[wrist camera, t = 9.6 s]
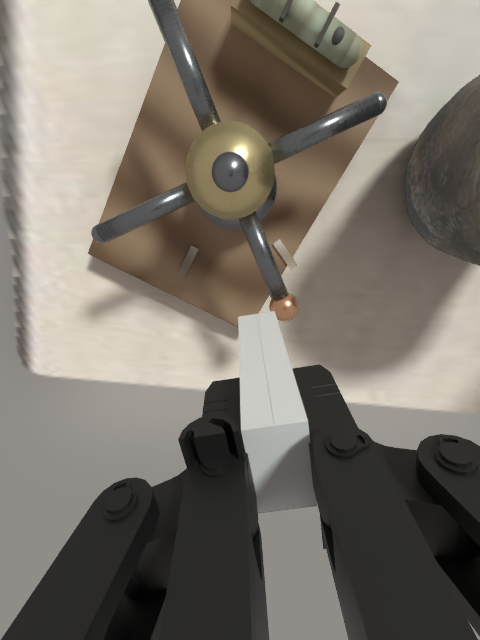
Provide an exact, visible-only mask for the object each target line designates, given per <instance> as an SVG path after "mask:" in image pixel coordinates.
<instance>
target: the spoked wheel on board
mask: <svg viewBox="0 0 480 640" xmlns="http://www.w3.org/2000/svg"><path fill="white" fill-rule="evenodd" d="M339 6H340V4H339V3H337V2H336V3H335V5H334V6H333V8H332V10H331V12H330V13H329V12H328V11H326V10H325V9H324V8H322V7H321V6H320V5H318V4H317V3H316V2H314V1H313V0H181V2H180V4H179V7H178V13H179V15H180V18H181V21H182V23H183V26H184V28H185V31H186V33H187V36H188V39H189V41H190V44H191V46H192V49H193V51H194V54H195V56H196V59H197V62H198V64H199V67H200V69H201V72H202V74H203V77H204V80H205V82H206V85H207V87H208V90H209V92H210V95H211V97H212V100H213V103H214V105H215V108H216V110H217V113H218V115H219V118H220V121H221V122H222V121H236V122H241V123H244V124H246V125H248V126H250V127H252V128H253V129H255V130H256V131H257V132H258V133H259V134H260V135H261V136H262V137H263V138H264V139H265V141H266V142H267V143H269V142H271V141H273V140H275V139H277V138H279V137H282V136H284V135H286V134H288V133H290V132H292V131H294V130H296V129H298V128H300V127H302V126H305V125H307V124H309V123H311V122H313V121H315V120H317V119H319V118H321V117H323V116H325V115H328V114H330V113H332V112H334V111H336V110H338V109H340V108H342V107H344V106H346V105H348V104H351V103H353V102H355V101H357V100H359V99H361V98H363V97H365V96H367V95H369V94H371V93H374V92H382V93H383V94H385V96H386V98H387V100H388V99H389V97H390V95H391V94H392V92H393V91H394V89H395V87H396V86H397V84H398V81H397V80H396V79H394V78H393V77H392V76H390V75H389V74H388V73H387V72H385V71H384V70H383V69H381V68H380V67H379V66H377V65H376V64H375V63H373V62H372V61H371V60H369V59H368V58H367V57H365V56H366V54H367V52H368V50H369V49H370V47H371V45H370V44H369V43H367V42H366V41H365V40H363V39H362V38H361V37H359V36H358V35H357V34H356V33H355V32H354V31H352V30H351V29H350V28H348V27H347V26H346V25H345V24H343V23H342V22H341V21H339V20H338V19H337V18H335V17H334V16H335V14H336V12H337V10H338V8H339ZM377 117H378V116H377ZM377 117H374V118H372V119H370V120H368V121H366V122H364V123H362V124H359V125H357V126H355V127H353V128H351V129H349V130H347V131H344V132H342V133H340V134H338V135H336V136H334V137H332V138H329V139H327V140H325V141H323V142H321V143H319V144H317V145H314V146H312V147H310V148H308V149H306V150H304V151H302V152H299V153H297V154H295V155H293V156H291V157H289V158H287V159H284V160H282V161H280V162H278V163H276V164H274V165H275V176H276V182H277V190H276V197H275V201H274V204H273V206H272V208H271V210H270V211H269V213H268V214H267V215H266V217H265V218H264V219H263V220H262V221H261V222H260V223H261V226H262V228H263V231H264V233H265V236H266V238H267V241H268V243H269V246H270V249H271V251H272V254H273V256H274V259H275V261H276V264H277V267H278V269H279V272H280V274H281V275H282V273H283V272H284V270H285V268H286V267H287V265H288V266H289V268H290V269H292V268H294V267H295V266H297V264H296V262H295V261H294V259H293V258H292V257H293V255H294V254H295V252H296V250H297V249H298V247H299V245H300V244H301V242H302V240H303V239H304V237H305V235H306V234H307V232H308V231H309V229H310V227H311V226H312V224H313V222H314V221H315V219H316V217H317V216H318V214H319V212H320V211H321V209H322V207H323V206H324V204H325V203H326V201H327V199H328V198H329V196H330V194H331V193H332V191H333V189H334V188H335V186H336V184H337V183H338V181H339V179H340V178H341V176H342V175H343V173H344V171H345V170H346V168H347V166H348V165H349V163H350V161H351V160H352V158H353V156H354V155H355V153H356V151H357V150H358V148H359V147H360V145H361V143H362V142H363V140H364V138H365V137H366V135H367V133H368V132H369V130H370V128H371V127H372V125H373V123H374V122H375V120H376V119H377ZM201 132H202V130H201V128H200V125H199V123H198V120H197V118H196V115H195V113H194V111H193V108H192V106H191V103H190V101H189V99H188V96H187V94H186V91H185V89H184V87H183V84H182V82H181V79H180V77H179V74H178V72H177V70H176V67H175V65H174V62H173V60H172V58H171V55H170V53H169V50H168V48H167V46H166V43H165V45H164V48H163V51H162V53H161V56H160V59H159V61H158V64H157V67H156V70H155V72H154V75H153V78H152V80H151V83H150V86H149V89H148V91H147V94H146V97H145V100H144V102H143V105H142V108H141V110H140V113H139V116H138V119H137V121H136V124H135V127H134V129H133V132H132V135H131V138H130V140H129V143H128V146H127V148H126V151H125V154H124V157H123V159H122V162H121V165H120V168H119V170H118V173H117V176H116V178H115V181H114V184H113V187H112V189H111V192H110V195H109V197H108V200H107V203H106V206H105V208H104V211H103V214H102V216H101V219H100V222H99V223H102V222H104V221H106V220H108V219H110V218H112V217H114V216H116V215H118V214H120V213H123V212H125V211H127V210H129V209H131V208H133V207H135V206H137V205H139V204H141V203H143V202H146V201H148V200H150V199H152V198H154V197H156V196H158V195H160V194H162V193H164V192H166V191H169V190H171V189H173V188H175V187H177V186H179V185H181V184H183V183H185V182H187V181H186V175H185V165H186V158H187V154H188V151H189V149H190V146H191V145H192V143H193V141H194V140H195V138H196V137H197V136H198V135H199V134H200V133H201ZM88 254H90V255H92V256H94V257H96V258H98V259H100V260H102V261H104V262H106V263H108V264H110V265H112V266H114V267H116V268H118V269H120V270H123V271H125V272H127V273H129V274H131V275H133V276H135V277H137V278H139V279H141V280H143V281H145V282H147V283H149V284H151V285H153V286H155V287H157V288H159V289H162V290H164V291H166V292H168V293H170V294H172V295H174V296H176V297H178V298H180V299H182V300H184V301H186V302H188V303H190V304H192V305H194V306H196V307H199V308H201V309H203V310H205V311H207V312H209V313H211V314H213V315H215V316H217V317H219V318H221V319H223V320H225V321H227V322H229V323H231V324H233V325H236V326H238V317H240V316H246V315H253V314H258V313H259V311H260V310H261V308H262V306H263V305H264V303H265V301H266V300H267V298H268V296H269V295H270V294H269V292H268V289H267V287H266V284H265V282H264V279H263V277H262V275H261V272H260V270H259V267H258V265H257V263H256V260H255V258H254V255H253V253H252V251H251V248H250V246H249V243H248V241H247V238H246V236H245V234H244V231H243V230H229V229H225V228H222V227H220V226H218V225H216V224H214V223H213V222H212V221H211V220H209V219H208V218H207V217H206V215H205V214H204V213H203V211H202V210H201V208H200V206H199V204H198V203H197V202H196V201H195V202H192V203H190V204H188V205H186V206H184V207H182V208H180V209H177V210H175V211H173V212H171V213H169V214H167V215H165V216H163V217H160V218H158V219H156V220H154V221H152V222H150V223H148V224H145V225H143V226H141V227H139V228H137V229H135V230H133V231H130V232H128V233H126V234H124V235H122V236H120V237H118V238H115V239H113V240H111V241H109V242H107V243H98V242H96V241H95V240H94V239H93V241H92V244H91V246H90V249H89V252H88Z"/></svg>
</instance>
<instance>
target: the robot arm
mask: <svg viewBox="0 0 480 640" xmlns="http://www.w3.org/2000/svg"><path fill="white" fill-rule="evenodd" d="M238 330H239V372H240V378H234V379H227V380H221V381H214V382H212V384H211V385H210V386H209V388H208V389H207V391H206V392H205V399H204V406H203V415H202V417H201V418H199V419H197V420H195V421H193V422H192V423H190V424H189V425H188V426H187V427H186V428H185V429H184V430H183V431H182V433H181V435H180V437H179V444H180V446H181V450H182V453H183V456H184V459H185V463H186V466H187V469H186V470H184V471H183V472H182V473H181V474H179V475H178V476H176V477H174V478H172V479H170V480H168V481H165V482H163V483H161V484H158V485H156V486H154V487H151V486H150V485H149V484H148V483H147V481H145V480H143V479H140V478H127V479H124V480H121V481H119V482H116V483H114V484H112V485H111V486H110V487H108V488H107V489H106V490H104V491H103V492H102V493H101V494H100V495H99V496H98V498H97V499H96V500H95V501H94V502H93V504H92V505H91V507H90V508H89V510H88V511H87V513H86V514H85V516H84V517H83V519H82V520H81V522H80V523H79V525H78V526H77V528H76V529H75V531H74V532H73V534H72V535H71V536H70V538H69V540H68V541H67V543H66V544H65V545H64V547H63V548H62V550H61V551H60V553H59V554H58V556H57V557H56V559H55V560H54V562H53V563H52V565H51V566H50V568H49V569H48V571H47V572H46V574H45V575H44V577H43V578H42V580H41V581H40V583H39V584H38V586H37V587H36V589H35V590H34V592H33V593H32V594H31V596H30V597H29V599H28V600H27V602H26V603H25V605H24V607H23V608H22V609H21V611H20V613H19V614H18V615H17V617H16V618H15V620H14V621H13V623H12V624H11V626H10V627H9V629H8V630H7V632H6V633H5V635H4V636H3V638H2V639H1V640H269V631H268V619H267V606H266V594H265V579H264V566H263V553H262V542H261V541H262V540H261V533H260V528H259V524H258V513H264V512H272V511H280V510H288V509H295V508H303V507H311V506H317V504H318V508H319V512H320V519H321V529H322V539H323V548H324V549H327V553H328V557H329V561H330V565H331V570H332V573H333V578H334V582H335V586H336V590H337V594H338V598H339V602H340V606H341V610H342V614H343V618H344V623H345V627H346V630H347V635H348V639H349V640H478V639H477V637H476V635H475V634H474V631H473V629H472V628H471V626H470V624H471V625H472V627H473V628H474V629H475V631H476V632H477V633H478V635H479V636H480V446H478V445H477V444H475V443H473V442H472V441H470V440H466V439H463V438H461V437H458V436H453V435H442V434H440V435H435V436H429V437H427V438H426V439H424V440H423V441H421V442H420V444H419V447H418V449H417V450H409V449H400V448H393V447H388V446H384V445H381V444H378V443H376V442H374V441H373V440H372V439H371V438H370V437H369V435H368V434H367V433H365V432H363V431H362V430H360V429H359V428H358V427H357V425H356V423H355V421H354V419H353V417H352V415H351V413H350V411H349V409H348V407H347V405H346V403H345V401H344V399H343V397H342V395H341V393H340V391H339V389H338V387H337V385H336V383H335V381H334V379H333V376H332V374H331V372H329V371H328V370H327V369H325V368H324V367H322V366H321V365H314V366H307V367H300V368H294V369H292V366H291V363H290V360H289V357H288V353H287V350H286V347H285V343H284V340H283V337H282V333H281V330H280V327H279V324H278V320H277V317H276V314H275V311H271V312H265V313H259V314H253V315H246V316H240V317H238ZM316 500H317V501H316ZM257 509H258V512H257ZM468 621H469V622H468ZM469 623H470V624H469Z"/></svg>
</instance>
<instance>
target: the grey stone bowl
mask: <svg viewBox="0 0 480 640" xmlns="http://www.w3.org/2000/svg"><path fill="white" fill-rule="evenodd" d="M405 197H406V203H407V209H408V213H409V216H410V219H411V221H412V223H413V226H414V227H415V228H416V230H417V231H418V232H419V233H420V235H421V236H422V237H423V238H424V239H425V240H426V241H427V242H428V243H430V244H431V245H432V246H434V247H435V248H436V249H438V250H440V251H443V252H445V253H447V254H450V255H452V256H455V257H458V258H460V259H462V260H465V261H468V262H471V263H473V264H477V265H479V266H480V75H479V76H478V77H476V78H475V79H473V80H472V81H470V82H469V83H468V84H466V85H465V86H464V87H463V88H461V89H460V90H459V91H458V92H457V93H456V94H455V95H454V96H453V97H452V99H451V100H450V101H448V102H447V103H446V104H445V105H444V106H443V107H442V108H441V109H440V111H439V112H438V113H437V114H436V115H435V116H434V118H433V119H432V120H431V121H430V122H429V124H428V125H427V126H426V128H425V129H424V131H423V132H422V134H421V135H420V137H419V139H418V141H417V143H416V145H415V148H414V150H413V152H412V155H411V157H410V160H409V163H408V167H407V171H406V192H405Z"/></svg>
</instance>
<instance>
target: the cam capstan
mask: <svg viewBox="0 0 480 640" xmlns="http://www.w3.org/2000/svg"><path fill="white" fill-rule="evenodd" d="M148 2H149V5H150V7H151V9H152V12H153V14H154V17H155V19H156V21H157V24H158V26H159V29H160V31H161V33H162V36H163V38H164V41H165V43H166V46H167V48H168V50H169V53H170V55H171V58H172V60H173V62H174V65H175V67H176V70H177V72H178V74H179V77H180V79H181V82H182V84H183V87H184V89H185V91H186V94H187V96H188V99H189V101H190V103H191V106H192V108H193V111H194V113H195V115H196V118H197V120H198V123H199V125H200V128H201V130H202V132H201V133H200V134H199V135H198V136H197V137H196V138H195V140H194V141H193V143H192V145H191V146H190V149H189V151H188V154H187V158H186V165H185V175H186V181H187V182H185V183H183V184H181V185H179V186H177V187H175V188H173V189H171V190H169V191H166V192H164V193H162V194H160V195H158V196H156V197H154V198H152V199H150V200H148V201H146V202H143V203H141V204H139V205H137V206H135V207H133V208H131V209H129V210H127V211H125V212H123V213H120V214H118V215H116V216H114V217H112V218H110V219H108V220H106V221H104V222H102V223H99V224H97V225H96V226H94V227H93V229H92V237H93V239H94V240H95V241H96V242H98V243H107V242H109V241H111V240H113V239H115V238H118V237H120V236H122V235H124V234H126V233H128V232H130V231H133V230H135V229H137V228H139V227H141V226H143V225H145V224H148V223H150V222H152V221H154V220H156V219H158V218H160V217H163V216H165V215H167V214H169V213H171V212H173V211H175V210H177V209H180V208H182V207H184V206H186V205H188V204H190V203H192V202H195V201H196V202H197V203H198V204H199V206H200V208H201V210H202V211H203V213H204V214H205V215H206V217H207V218H208V219H209V220H211V221H212V222H213V223H214V224H216V225H218V226H220V227H222V228H225V229H229V230H243V231H244V234H245V236H246V238H247V241H248V243H249V246H250V248H251V251H252V253H253V255H254V258H255V260H256V263H257V265H258V267H259V270H260V272H261V275H262V277H263V279H264V282H265V284H266V287H267V289H268V292H269V294H270V296H271V299H272V300H271V302H270V312H271V311H275V314H276V317H277V320H279V321H289V320H291V319H293V318H294V317H295V316H296V314H297V313H298V309H299V304H298V301H297V299H296V298H295V297H294V296H293V295H292V294H290V293H288V292H287V290H286V287H285V284H284V282H283V279H282V277H281V274H280V272H279V269H278V267H277V264H276V261H275V259H274V256H273V254H272V251H271V249H270V246H269V243H268V241H267V238H266V236H265V233H264V231H263V228H262V226H261V223H260V222H261V221H262V220H263V219H264V218H265V217H266V215H267V214H268V213H269V211H270V210H271V208H272V206H273V204H274V201H275V197H276V190H277V182H276V176H275V165H274V164H276V163H278V162H280V161H282V160H284V159H287V158H289V157H291V156H293V155H295V154H297V153H299V152H302V151H304V150H306V149H308V148H310V147H312V146H314V145H317V144H319V143H321V142H323V141H325V140H327V139H329V138H332V137H334V136H336V135H338V134H340V133H342V132H344V131H347V130H349V129H351V128H353V127H355V126H357V125H359V124H362V123H364V122H366V121H368V120H370V119H372V118H374V117H377V116H379V115H380V114H381V113H383V111H384V110H385V108H386V105H387V98H386V96H385V94H383V93H382V92H374V93H371V94H369V95H367V96H365V97H363V98H361V99H359V100H357V101H355V102H353V103H351V104H348V105H346V106H344V107H342V108H340V109H338V110H336V111H334V112H332V113H330V114H328V115H325V116H323V117H321V118H319V119H317V120H315V121H313V122H311V123H309V124H307V125H305V126H302V127H300V128H298V129H296V130H294V131H292V132H290V133H288V134H286V135H284V136H282V137H279V138H277V139H275V140H273V141H271V142H269V143H267V142H266V141H265V139H264V138H263V137H262V136H261V135H260V134H259V133H258V132H257V131H256V130H255V129H253V128H252V127H250V126H248V125H246V124H244V123H241V122H236V121H222V122H221V121H220V118H219V115H218V113H217V110H216V108H215V105H214V103H213V100H212V97H211V95H210V92H209V90H208V87H207V85H206V82H205V80H204V77H203V74H202V72H201V69H200V67H199V64H198V62H197V59H196V56H195V54H194V51H193V49H192V46H191V44H190V41H189V39H188V36H187V33H186V31H185V28H184V26H183V23H182V21H181V18H180V15H179V13H178V10H177V8H176V5H175V3H174V0H148Z"/></svg>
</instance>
